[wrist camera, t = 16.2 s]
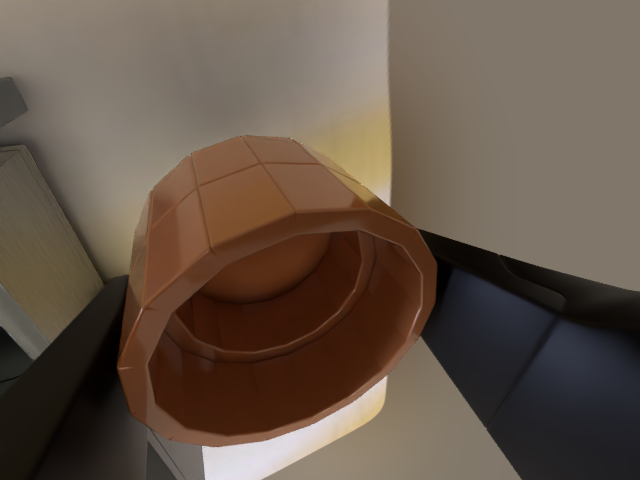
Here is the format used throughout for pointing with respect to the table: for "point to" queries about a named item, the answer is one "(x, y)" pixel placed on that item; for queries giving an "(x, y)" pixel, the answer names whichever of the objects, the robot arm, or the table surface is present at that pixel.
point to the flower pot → (265, 294)
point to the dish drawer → (34, 256)
